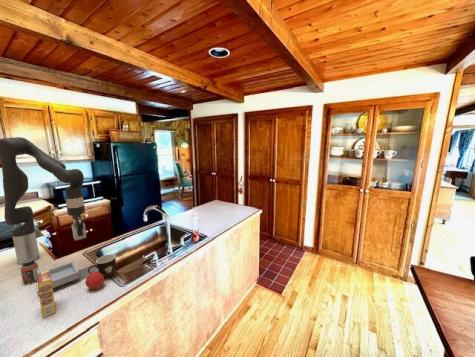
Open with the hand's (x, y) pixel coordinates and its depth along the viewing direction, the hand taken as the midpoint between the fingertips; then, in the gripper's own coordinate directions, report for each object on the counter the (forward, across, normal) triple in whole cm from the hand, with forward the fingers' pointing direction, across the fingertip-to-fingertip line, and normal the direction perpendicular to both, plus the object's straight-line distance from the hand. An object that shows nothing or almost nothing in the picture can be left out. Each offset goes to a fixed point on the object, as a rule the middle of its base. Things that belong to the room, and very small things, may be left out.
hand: (79, 234), depth 110 cm
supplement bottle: (+19, -4, -21) cm, 29 cm away
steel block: (+2, 0, 0) cm, 2 cm away
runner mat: (+19, +9, -6) cm, 22 cm away
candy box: (+19, +28, -17) cm, 38 cm away
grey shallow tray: (+19, +9, -11) cm, 24 cm away
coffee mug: (+19, +21, +5) cm, 29 cm away
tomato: (+19, +27, 0) cm, 33 cm away
